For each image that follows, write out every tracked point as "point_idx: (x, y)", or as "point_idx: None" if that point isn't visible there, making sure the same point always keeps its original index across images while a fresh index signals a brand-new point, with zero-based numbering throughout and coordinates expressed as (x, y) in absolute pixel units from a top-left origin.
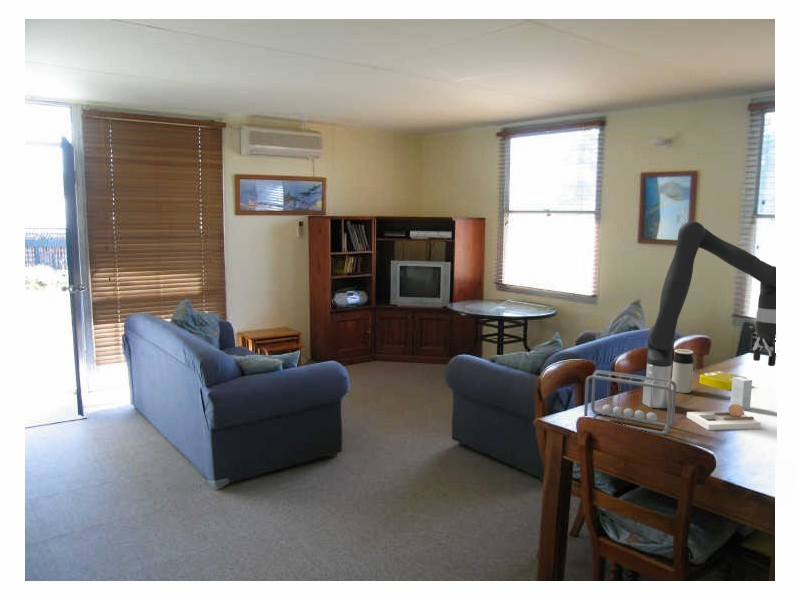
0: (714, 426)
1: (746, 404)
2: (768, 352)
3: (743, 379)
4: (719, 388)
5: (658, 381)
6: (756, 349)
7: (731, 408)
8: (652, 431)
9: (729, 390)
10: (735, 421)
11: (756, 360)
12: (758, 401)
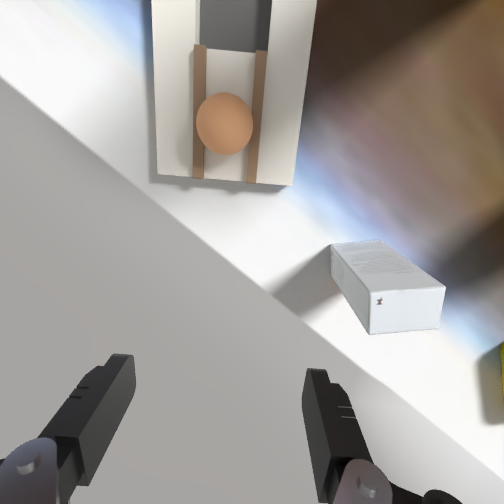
0: None
1: (335, 267)
2: (55, 486)
3: (394, 309)
4: None
5: None
6: (340, 495)
7: (218, 93)
8: None
9: (502, 344)
10: (180, 86)
11: (306, 380)
12: (383, 348)
